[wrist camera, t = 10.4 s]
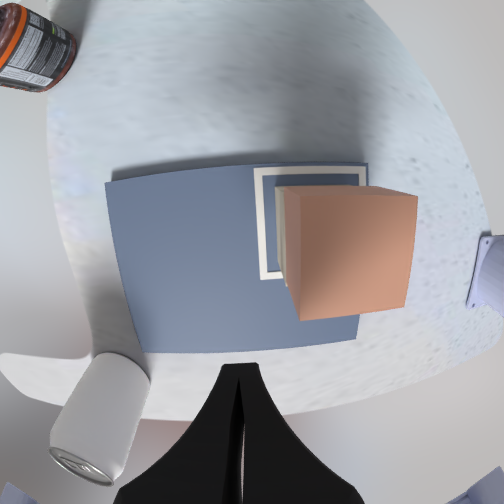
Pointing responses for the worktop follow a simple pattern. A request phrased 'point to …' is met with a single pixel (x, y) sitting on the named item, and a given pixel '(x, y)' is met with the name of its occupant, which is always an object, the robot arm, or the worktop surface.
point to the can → (100, 419)
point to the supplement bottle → (32, 50)
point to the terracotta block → (348, 249)
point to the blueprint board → (216, 257)
